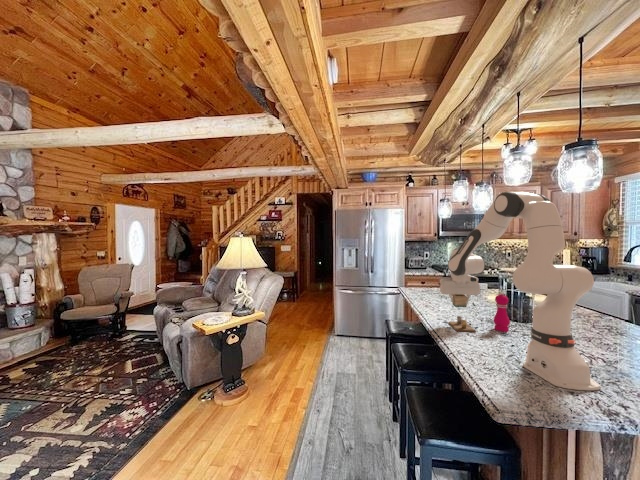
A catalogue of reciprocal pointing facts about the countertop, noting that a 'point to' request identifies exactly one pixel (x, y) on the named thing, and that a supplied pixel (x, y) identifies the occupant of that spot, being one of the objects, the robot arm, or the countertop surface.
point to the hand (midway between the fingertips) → (459, 302)
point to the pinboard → (461, 325)
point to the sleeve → (459, 300)
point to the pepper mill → (501, 313)
